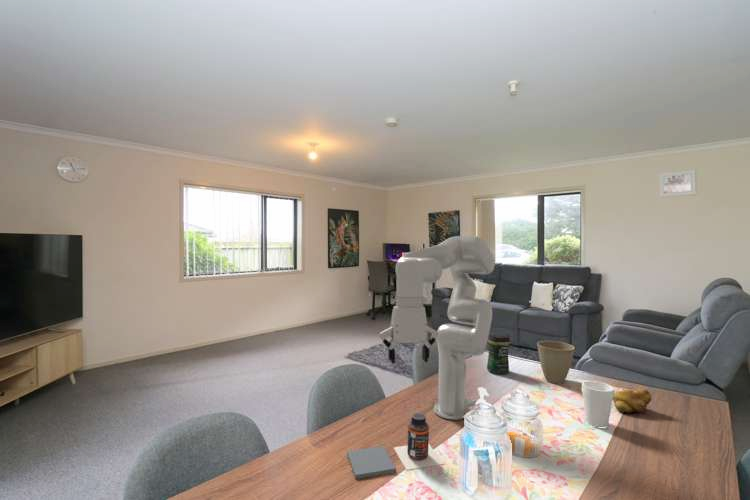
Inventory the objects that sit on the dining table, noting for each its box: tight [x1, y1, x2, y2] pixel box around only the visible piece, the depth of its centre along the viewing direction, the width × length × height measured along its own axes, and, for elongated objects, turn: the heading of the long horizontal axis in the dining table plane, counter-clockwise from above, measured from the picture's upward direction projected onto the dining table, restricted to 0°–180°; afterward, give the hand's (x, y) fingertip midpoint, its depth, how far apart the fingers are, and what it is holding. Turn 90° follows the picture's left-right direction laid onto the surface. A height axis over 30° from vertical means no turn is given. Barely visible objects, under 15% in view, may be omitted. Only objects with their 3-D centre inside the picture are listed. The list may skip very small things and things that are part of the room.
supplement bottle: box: [407, 412, 430, 460], centre depth 104 cm, size 6×6×11 cm
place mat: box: [346, 445, 397, 479], centre depth 101 cm, size 11×11×1 cm
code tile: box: [393, 443, 445, 471], centre depth 104 cm, size 11×11×1 cm
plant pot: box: [536, 340, 575, 385], centre depth 162 cm, size 15×15×16 cm
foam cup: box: [581, 380, 615, 428], centre depth 124 cm, size 10×9×13 cm
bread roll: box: [612, 388, 652, 414], centre depth 135 cm, size 13×10×8 cm
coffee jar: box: [486, 331, 511, 375], centre depth 173 cm, size 10×8×19 cm
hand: (408, 361), depth 105 cm, fingers open, 9 cm apart
